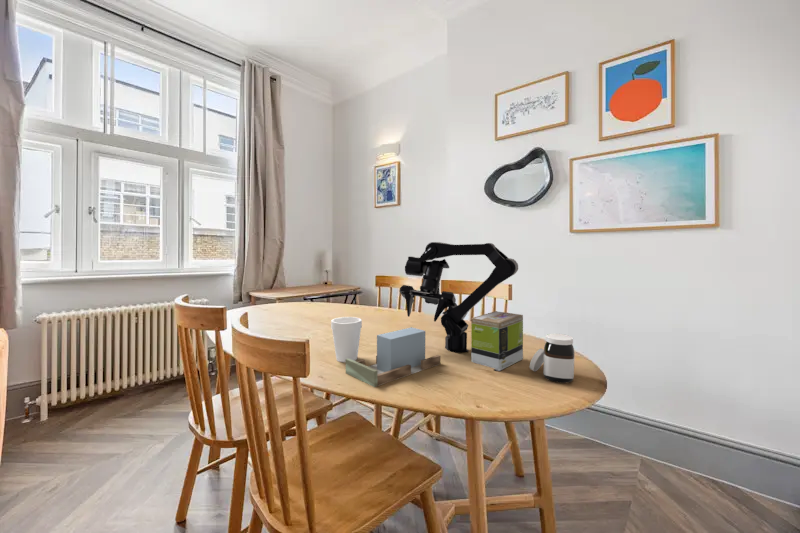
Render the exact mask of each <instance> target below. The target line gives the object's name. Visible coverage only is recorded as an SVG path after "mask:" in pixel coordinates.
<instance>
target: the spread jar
mask: <svg viewBox="0 0 800 533" xmlns="http://www.w3.org/2000/svg"><path fill="white" fill-rule="evenodd" d="M545 341H546V342H545V343H544V345H543V346H544V347H543V348H539V349H538V350H536V352H535V353H534V354H533V356H532V358H531V360H530V362H529V370H531V371H533V372H537V371H538V370H539V369H540V368H541V367H542V365H543V367H542V369H543V370H542V372H543V377H544V378H545V379H546V380H548V381H550V382H553V383H559V384H567V383H571V382H573V381H574V375H575V348H574V337H573V336H571V335H567V334H562V333H549V334H546V335H545Z"/></svg>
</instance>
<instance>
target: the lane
mask: <svg viewBox="0 0 800 533" xmlns="http://www.w3.org/2000/svg"><path fill="white" fill-rule="evenodd" d="M441 358H442V357H441V355H440V354H437V355H434V356H431V357H428V358H425V359H424V360H421V365H418V366H415V367H412V368H411V365H409V364H408V365H405V366H402V367H399V368H396V369H393V370H390V371H387V372H383V371H381V370H378V369H377V355H376V356H375V364H371V365H368V366H367V365H366V360H365V359H360V360H355V361H354V360H351V359H349V358H348V359H346V362H345V374H346V375H348V376H351V377H353V378H355V379H356V380H359V381H361V382H364V383H365V384H368V385H369V386H371V387H373V388H375V387H379V386H381V385H384V384H387V383H391V382H393V381H395V380H398V379H401V378H404V377H407V376H411V375H414V374H415V373H418V372H422V371H425V370H427V369H430V368H433V367H435V366H439V365H441Z"/></svg>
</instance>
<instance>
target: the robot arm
mask: <svg viewBox="0 0 800 533" xmlns="http://www.w3.org/2000/svg"><path fill="white" fill-rule="evenodd" d="M451 256H485V257H486V258H487V259H488V260H489V261H490V262H491V264H493V265H494V268H493V269H492V271H491V273H490V274H489V276H488V277H487V278H486V279H485V280H484V281H483V282H482V283H481V284H480V285H478V286H477V287H476V288H475V289H474V290H473V291H472V292H471V293H470V294H469V295H468V296H467V297H466V298H464V300H463V301H462V302H460V304H457V303H456V299H457V298H456V296H455V294H454V292H452V291H445V290H443V291H442V292H440V285H441V284H440V281H441V277H442V275H443V274H442V273H443V270H444V269H450V266H449V263H448V262H447V260H446V259H445V258H446V257H451ZM441 258H444V259H441ZM436 259H437V260H436ZM438 259H441V260H438ZM518 270H519V264H518V261H516V260H515V259H514V258H509V257H508V256H507V255H506V254H505V253H503V251H501V250H500V249H499V248H497V247H496V245H495V244H493V243H491V242H487V243H474V244H472V243H471V244H452V243H446V242H440V241H433V242H429V243H428V244H427V245H426V247H425V250H424V251H423V253H421V255H420V257H418V256H417V257H415V256H411V255H410V256H407V260H406V262H405V266H404V271H405V275H408V276H413V277H414V276H416V277H422V283H421V285H420V286H419V289H420V290H415V288H414V287H413V286H412V285H405V284H402V285H401V286H400V288H399V290H398V291H399V294H401V296H402V297H403V298H404V299H405V303H406V313H407V317H410V315H411V313H412V308H413V303H414V302H415V297H420V298H421V299H423V300H424V303H426V304H431V305H435V306H436V305H437V306H436V309H435V314H434V318H433V322H434V323H435V322H437V320H438V319H439V317H440V316H441V317H440V323H441V325H442V327H443V328H444V331H445V333H446V336H445V344H444V349H446V350H447V351H448V352H452V353H455V354H457V353H459V354H460V353H468V352H469V351H470V350H469V349H468V348H467V345H468V344H467V343H468V332H466V331H467V330H468V327H469V324H468V323H467V322H466V321H465V320H464V319H465V318H466V317H467V314H468V313H469V312H470V311H471V310H472V309H473V308H474V307H475V306H476V305H478V303H480V301H482V299H484V298H485V297H486V296H487V295H489V294H490V292H491V291H492V290H494V289H495V288H496V287H497V286H498V285H500V284H501V283H502V282H504V281H506V280H507V279H509V278H511V277H512V276H514V275H515V274H516V273H517V272H518ZM445 309H446V310H445ZM444 310H445V311H444ZM441 314H442V315H441Z"/></svg>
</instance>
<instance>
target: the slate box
mask: <svg viewBox="0 0 800 533" xmlns="http://www.w3.org/2000/svg"><path fill="white" fill-rule="evenodd" d="M376 356H377V369H378V370H381V371H383V372H387V371H390V370H393V369H396V368H399V367H402V366H405V365H408V364H409V365H411V368H412V367H415V366H418V365H421V360H424V359H426V330H423V329H420V328H416V327H412V326H410V327H407V328H402V329H399V330H395V331H390V332H389V331H388V332H386V333H385V332H384V333H379V334H376Z"/></svg>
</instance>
